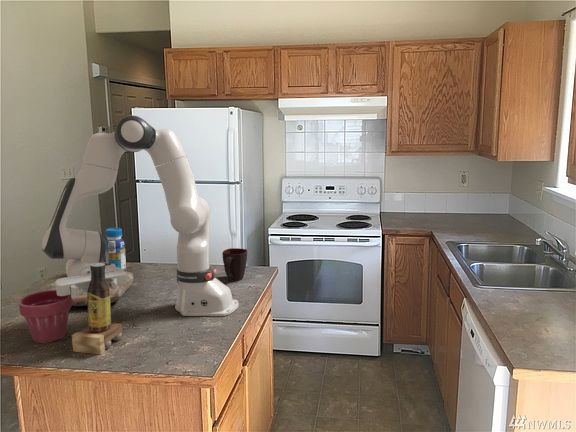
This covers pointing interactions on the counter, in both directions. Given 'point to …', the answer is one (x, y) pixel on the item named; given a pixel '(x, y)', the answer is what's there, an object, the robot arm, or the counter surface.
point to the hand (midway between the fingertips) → (97, 289)
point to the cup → (235, 263)
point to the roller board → (96, 339)
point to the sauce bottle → (98, 299)
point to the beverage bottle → (115, 248)
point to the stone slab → (114, 293)
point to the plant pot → (46, 315)
